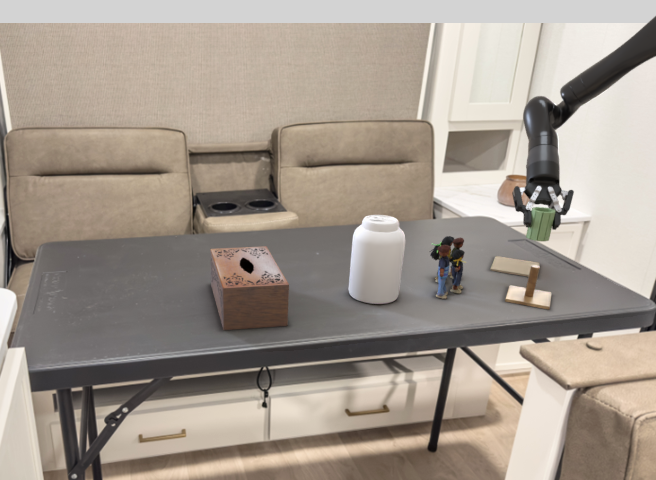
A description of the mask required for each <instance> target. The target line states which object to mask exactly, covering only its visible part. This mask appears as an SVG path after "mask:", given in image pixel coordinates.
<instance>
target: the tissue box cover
mask: <svg viewBox="0 0 656 480" xmlns="http://www.w3.org/2000/svg"><path fill="white" fill-rule="evenodd" d="M209 251H210V286H211V290H212V294H213V297H214V302H215V304H216V308H217V312H218V315H219V316H218V317H219V319H220V323H221V327H222V330H223V331H229V330H230V331H231V330H245V329H259V328H272V327H273V328H274V327H287V326H288V325H289V323H288V321H289V299H290V298H289V296H290V295H289V294H290V284H289V282H288V280H287V278H286V277H285V275H284V273H283V272H282V270H281V268H280V267H279V265H278V264H277V262H276V259H275V258H274V256H273V255H272V253H271V251H270V250H269V248H268V246H266V245H265V246H264V245H263V246H262V245H261V246H247V247H246V246H244V247H223V248H220V247H219V248H210V249H209Z"/></svg>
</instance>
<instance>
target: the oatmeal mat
mask: <svg viewBox="0 0 656 480" xmlns="http://www.w3.org/2000/svg"><path fill="white" fill-rule="evenodd" d="M540 264H541V263H540V262H537V261H530V260H523V259H518V258H511V257H504V256H499V255H495V257H494V259H493V262H492V264H491V266H490V269H489V270H490V271H491V272H496V273H497V272H498V273H502V274H508V275H509V274H510V275H515V276H521V277H527V278H528V277H529V273H530V268H531V265H537V266H539V267H540Z"/></svg>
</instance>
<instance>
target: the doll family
mask: <svg viewBox="0 0 656 480" xmlns="http://www.w3.org/2000/svg"><path fill="white" fill-rule="evenodd" d="M464 243H465V238H463V237H456V238H455V237H454V236H451V235H446V236H444V237H443V239H442V240H441V241H440V242H439V243H436V244H435V243H431V245H432V246H434V247H433V249H431V250H430V251H429V253H430V256H429V257H431V259H433V261H434V260H435V261H438V267H437V269H438V270H437V272H436V277H435V278H434V280H435V283H437V284H438V287H437V292H436V294H435V297H436V298H439V299H443V300H446V299H448V295H449V292H451V293H454V294H461V293H462V290H463V289H464V287H463V285H462V284H461V283H462V278H463V274H464V273H463V272H464V264H466V263H467V261H464V260H463V259H464V256H465V251H464V250H463V249H461V248H462V247H464ZM452 246H453V248H452ZM448 276H449V278H450V279H452V280H451V284H452V286H451V288H450V290H449V292H448V290H447V285H446V283H447V278H448Z"/></svg>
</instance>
